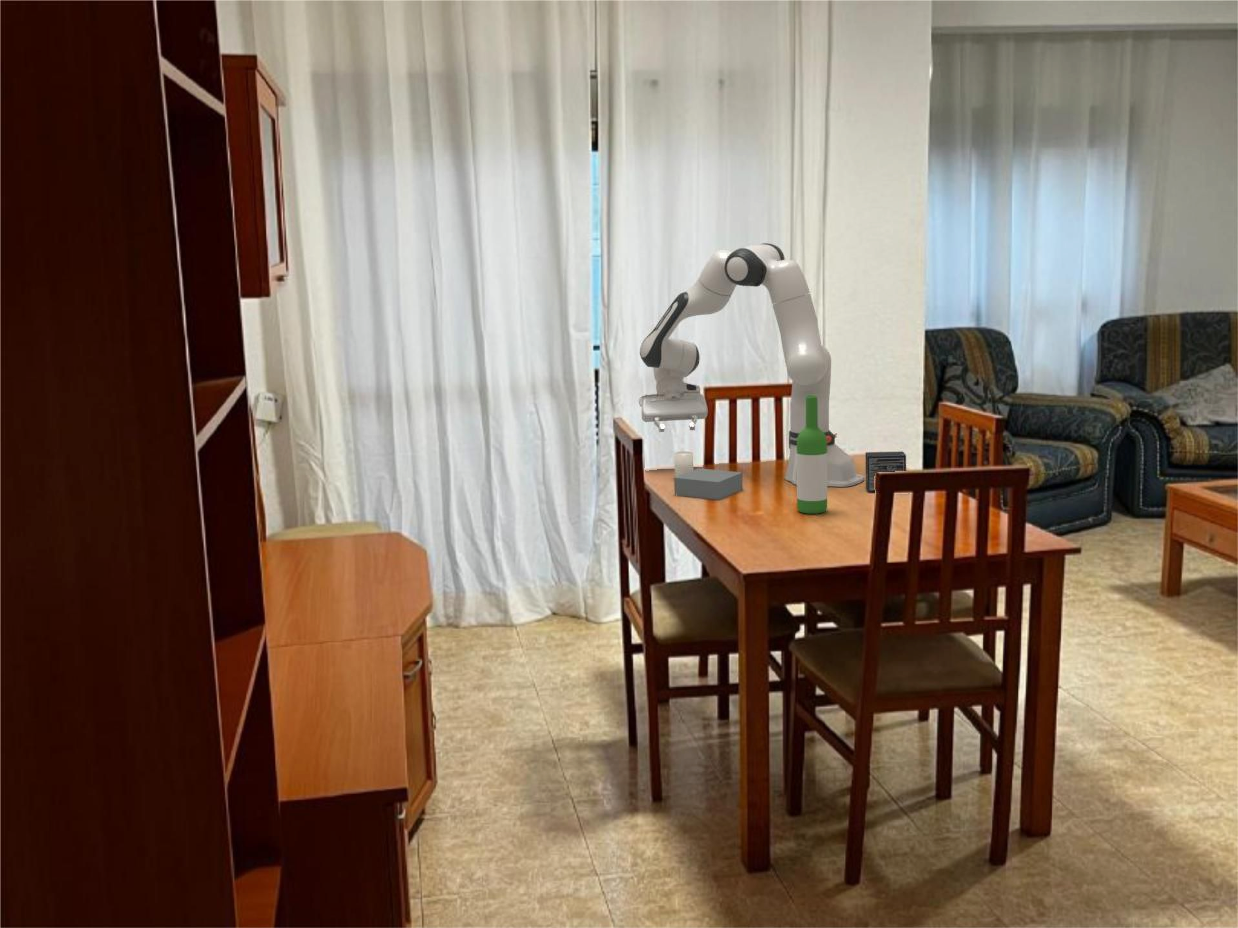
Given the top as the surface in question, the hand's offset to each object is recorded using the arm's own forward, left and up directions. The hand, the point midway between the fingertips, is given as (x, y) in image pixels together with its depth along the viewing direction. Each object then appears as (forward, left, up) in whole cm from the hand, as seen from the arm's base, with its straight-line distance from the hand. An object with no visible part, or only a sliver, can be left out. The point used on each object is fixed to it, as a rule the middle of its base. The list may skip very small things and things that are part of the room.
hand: (677, 430), depth 356 cm
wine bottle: (-57, +28, -13) cm, 65 cm away
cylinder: (-7, +8, -13) cm, 17 cm away
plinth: (-22, +20, -13) cm, 33 cm away
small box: (-65, -3, -13) cm, 66 cm away
